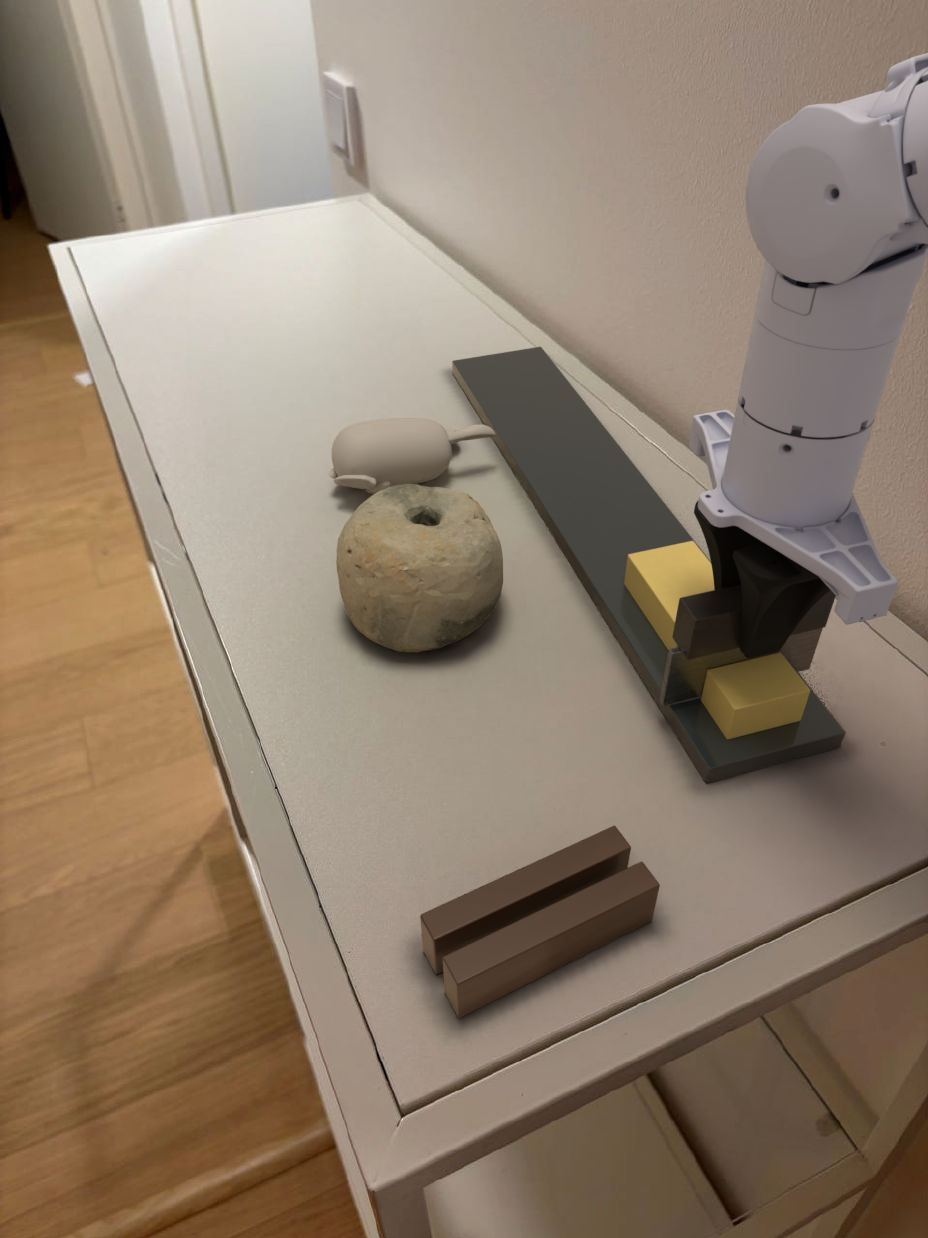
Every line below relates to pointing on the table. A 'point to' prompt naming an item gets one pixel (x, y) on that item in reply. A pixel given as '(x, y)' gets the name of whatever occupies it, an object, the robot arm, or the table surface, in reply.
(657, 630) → the butter stick
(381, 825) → the table surface
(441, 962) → the knife rack
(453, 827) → the table surface
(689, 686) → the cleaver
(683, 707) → the butter board
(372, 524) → the stone
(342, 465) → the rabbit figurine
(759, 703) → the butter pat
